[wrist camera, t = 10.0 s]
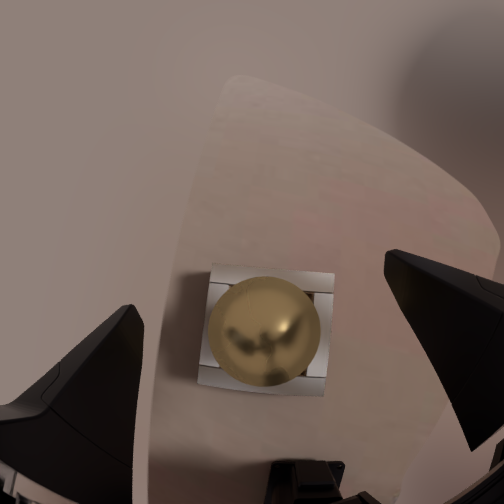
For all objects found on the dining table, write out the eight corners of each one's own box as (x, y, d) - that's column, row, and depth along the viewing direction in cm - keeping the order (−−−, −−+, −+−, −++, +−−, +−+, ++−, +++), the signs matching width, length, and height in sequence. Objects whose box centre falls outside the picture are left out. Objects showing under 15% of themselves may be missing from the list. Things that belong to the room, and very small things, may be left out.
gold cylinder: (289, 358, 20) (314, 390, 8) (240, 353, 21) (202, 378, 9) (294, 310, 22) (324, 281, 10) (245, 305, 22) (215, 271, 10)
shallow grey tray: (317, 389, 19) (324, 397, 17) (205, 378, 20) (195, 384, 17) (327, 280, 22) (335, 272, 19) (218, 270, 23) (211, 261, 20)
